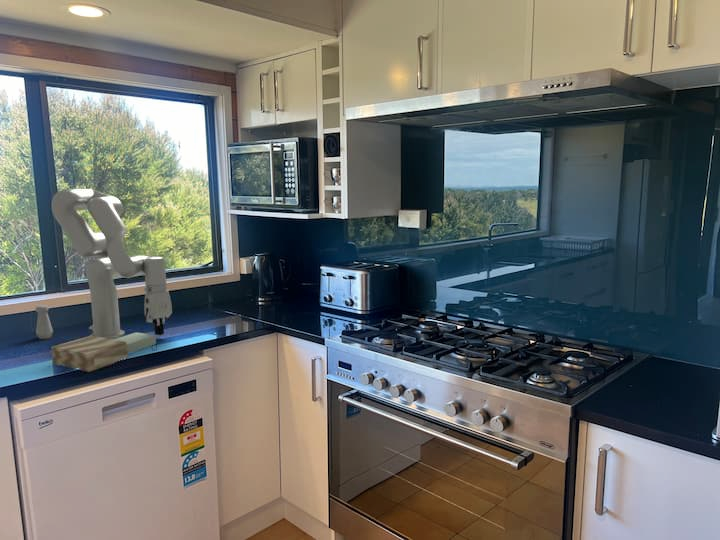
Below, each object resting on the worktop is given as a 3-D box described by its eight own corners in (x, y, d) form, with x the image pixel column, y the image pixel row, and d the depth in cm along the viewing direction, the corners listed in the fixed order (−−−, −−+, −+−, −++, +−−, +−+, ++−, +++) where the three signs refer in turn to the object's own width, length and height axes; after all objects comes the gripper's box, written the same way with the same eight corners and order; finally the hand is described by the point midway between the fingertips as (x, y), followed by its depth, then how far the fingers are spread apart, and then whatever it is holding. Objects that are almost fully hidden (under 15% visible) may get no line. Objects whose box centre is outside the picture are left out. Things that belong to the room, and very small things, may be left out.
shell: (108, 350, 195) (107, 341, 195) (137, 341, 207) (136, 332, 206) (127, 354, 191) (126, 344, 190) (156, 344, 202) (155, 335, 202)
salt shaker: (38, 336, 214) (35, 304, 211) (54, 335, 216) (51, 303, 213) (35, 340, 208) (31, 307, 206) (51, 338, 210) (48, 306, 208)
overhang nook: (53, 363, 181) (51, 346, 180) (92, 351, 194) (91, 335, 193) (88, 371, 173) (87, 354, 172) (127, 358, 186) (126, 341, 185)
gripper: (148, 292, 199) (151, 340, 202) (177, 286, 212) (180, 330, 215) (133, 291, 202) (137, 338, 205) (164, 284, 215) (166, 328, 218)
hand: (159, 334), depth 210 cm, fingers closed
